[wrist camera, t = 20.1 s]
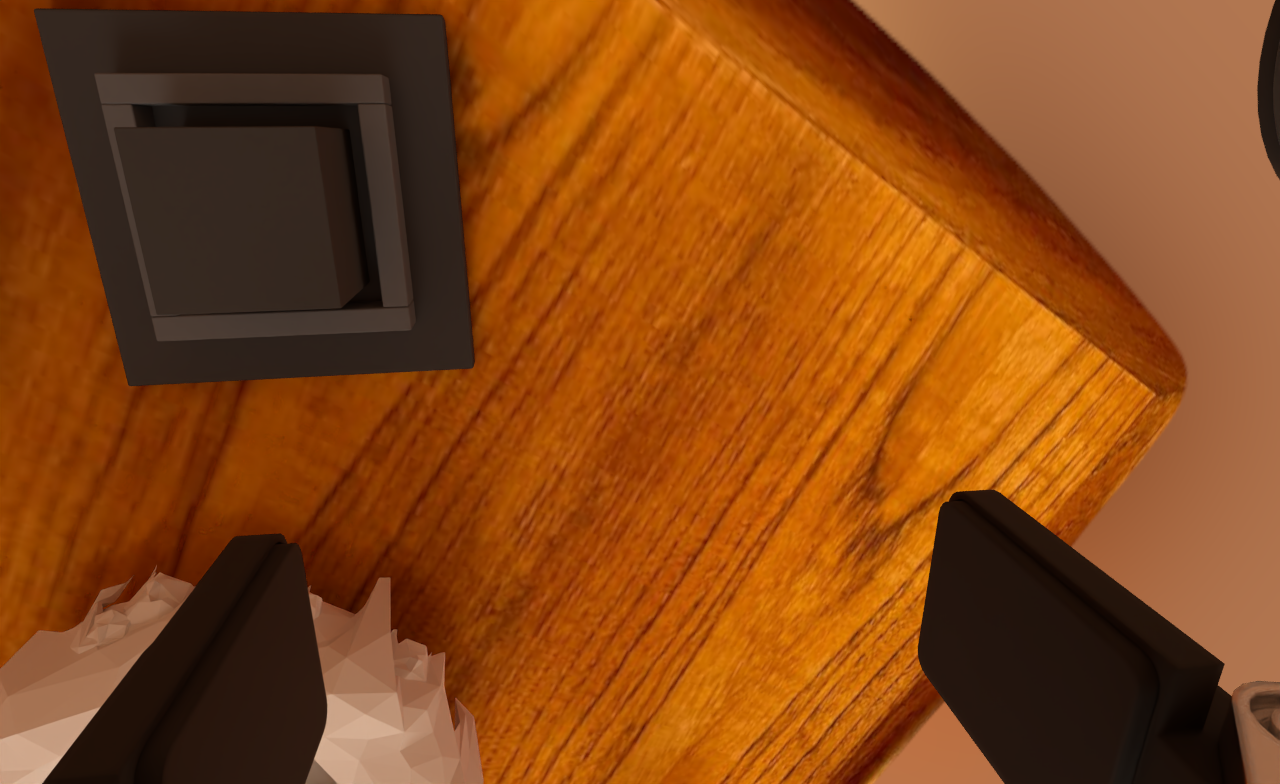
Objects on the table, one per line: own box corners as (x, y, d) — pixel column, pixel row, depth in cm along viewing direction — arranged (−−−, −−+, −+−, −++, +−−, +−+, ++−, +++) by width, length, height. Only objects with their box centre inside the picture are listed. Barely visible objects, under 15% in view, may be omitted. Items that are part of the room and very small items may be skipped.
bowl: (458, 852, 42) (439, 1056, 32) (57, 843, 38) (-97, 1075, 28) (516, 538, 36) (514, 676, 27) (49, 485, 32) (-150, 627, 22)
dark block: (183, 130, 27) (112, 127, 23) (349, 129, 28) (314, 126, 23) (215, 288, 29) (156, 315, 24) (369, 282, 30) (341, 308, 25)
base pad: (49, 12, 26) (3, 0, 24) (444, 18, 28) (437, 7, 26) (139, 379, 31) (108, 398, 28) (474, 362, 33) (471, 379, 30)
